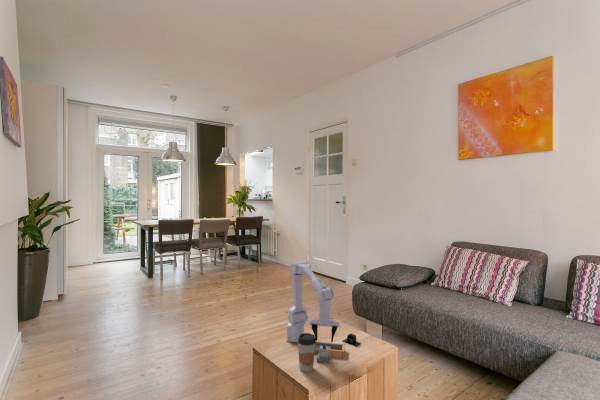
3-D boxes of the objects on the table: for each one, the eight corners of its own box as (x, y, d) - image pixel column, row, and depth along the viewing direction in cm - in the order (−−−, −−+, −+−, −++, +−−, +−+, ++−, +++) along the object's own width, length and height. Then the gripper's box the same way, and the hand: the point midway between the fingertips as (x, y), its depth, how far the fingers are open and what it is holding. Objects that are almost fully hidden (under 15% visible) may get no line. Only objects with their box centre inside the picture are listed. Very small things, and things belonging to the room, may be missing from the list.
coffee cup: (299, 374, 142) (299, 341, 142) (295, 364, 150) (296, 333, 150) (317, 372, 143) (317, 339, 143) (312, 363, 152) (313, 332, 152)
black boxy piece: (338, 341, 177) (338, 333, 177) (346, 337, 182) (346, 329, 182) (357, 349, 168) (358, 340, 168) (365, 344, 174) (365, 336, 174)
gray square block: (316, 362, 153) (316, 358, 153) (318, 356, 159) (318, 352, 159) (329, 363, 152) (329, 359, 152) (330, 357, 158) (330, 353, 158)
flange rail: (310, 354, 160) (311, 348, 160) (313, 347, 168) (313, 341, 168) (343, 358, 157) (343, 351, 157) (344, 350, 165) (344, 344, 165)
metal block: (319, 357, 154) (319, 346, 154) (320, 353, 157) (320, 343, 157) (327, 358, 153) (327, 347, 153) (328, 354, 157) (328, 344, 157)
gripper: (308, 314, 153) (308, 342, 153) (339, 317, 150) (338, 345, 150) (311, 309, 160) (310, 336, 160) (340, 312, 157) (339, 339, 157)
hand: (324, 340), depth 155 cm, fingers open, 7 cm apart
